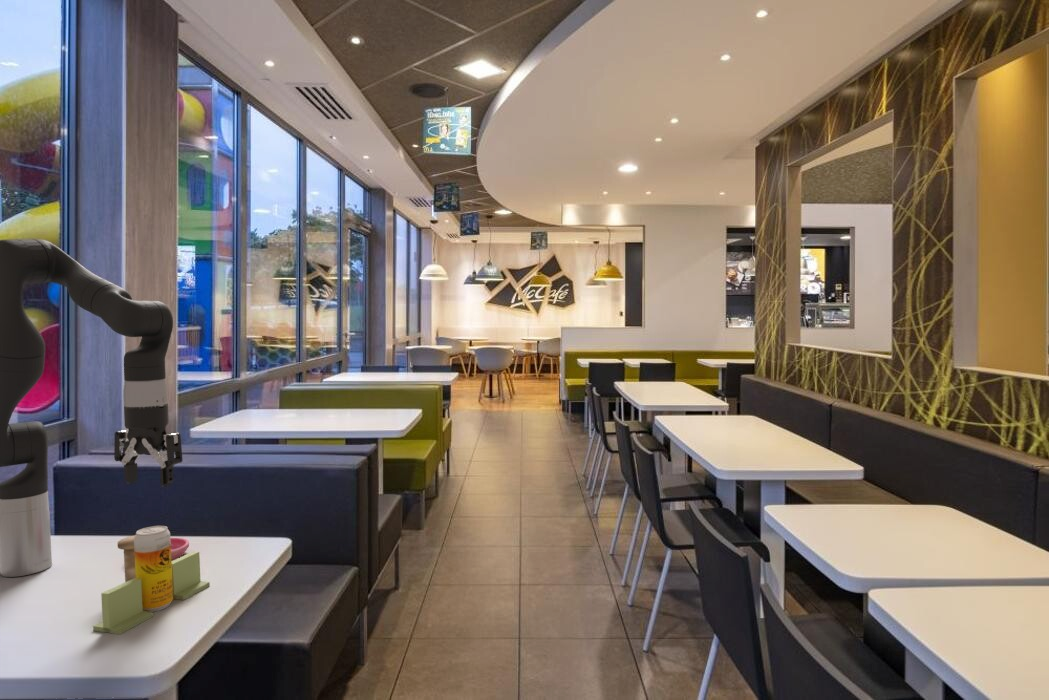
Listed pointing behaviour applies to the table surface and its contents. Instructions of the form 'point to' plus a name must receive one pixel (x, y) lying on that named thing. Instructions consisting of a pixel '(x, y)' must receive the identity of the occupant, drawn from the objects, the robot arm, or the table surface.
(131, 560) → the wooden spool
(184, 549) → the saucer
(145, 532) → the beer can
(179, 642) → the table surface
